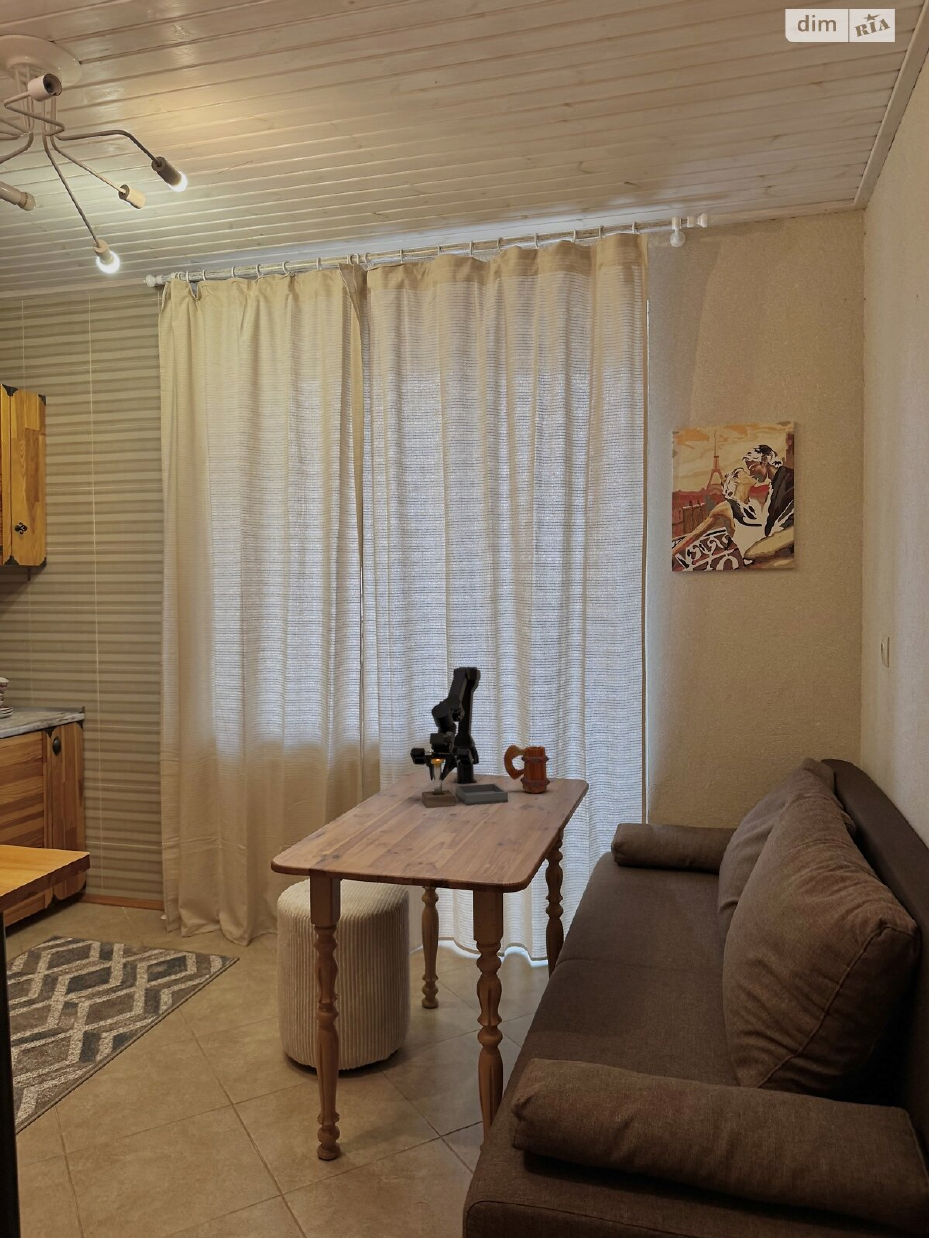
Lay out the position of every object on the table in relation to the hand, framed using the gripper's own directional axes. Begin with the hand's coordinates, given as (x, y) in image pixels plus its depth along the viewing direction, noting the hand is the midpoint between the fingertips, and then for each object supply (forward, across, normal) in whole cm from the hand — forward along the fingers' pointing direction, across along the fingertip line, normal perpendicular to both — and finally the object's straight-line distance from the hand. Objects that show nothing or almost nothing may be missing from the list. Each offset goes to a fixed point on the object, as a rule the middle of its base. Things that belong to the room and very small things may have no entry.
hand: (436, 779), depth 275 cm
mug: (-10, +24, +21) cm, 33 cm away
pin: (+4, 0, +6) cm, 7 cm away
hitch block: (+4, 0, +6) cm, 8 cm away
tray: (-2, +11, +12) cm, 17 cm away
